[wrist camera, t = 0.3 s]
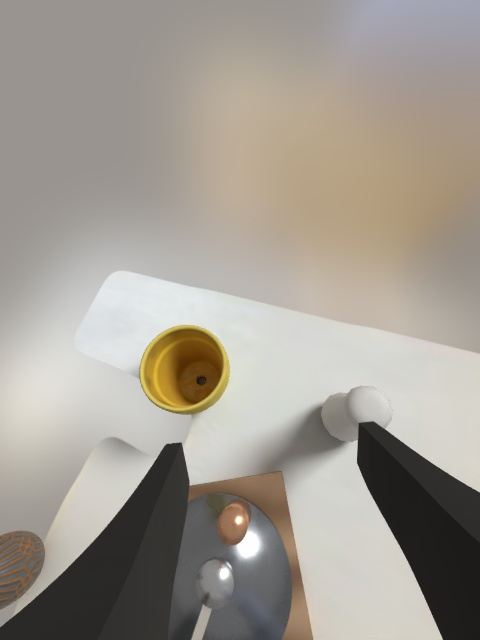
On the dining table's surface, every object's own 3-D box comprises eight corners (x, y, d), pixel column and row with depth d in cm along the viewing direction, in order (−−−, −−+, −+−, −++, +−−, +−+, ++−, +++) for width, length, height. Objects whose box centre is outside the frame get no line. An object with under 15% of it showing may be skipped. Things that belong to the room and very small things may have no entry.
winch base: (318, 667, 30) (319, 675, 29) (147, 689, 30) (143, 697, 29) (281, 470, 37) (281, 471, 36) (143, 493, 38) (140, 494, 37)
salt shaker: (311, 425, 38) (326, 418, 26) (329, 387, 40) (352, 364, 28) (353, 450, 37) (390, 455, 25) (371, 410, 38) (414, 396, 26)
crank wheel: (262, 714, 28) (258, 790, 22) (123, 623, 32) (87, 666, 26) (309, 528, 33) (317, 549, 27) (185, 470, 37) (167, 475, 31)
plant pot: (222, 337, 45) (209, 311, 36) (248, 401, 40) (240, 390, 31) (159, 363, 44) (129, 343, 35) (179, 431, 40) (150, 428, 31)
